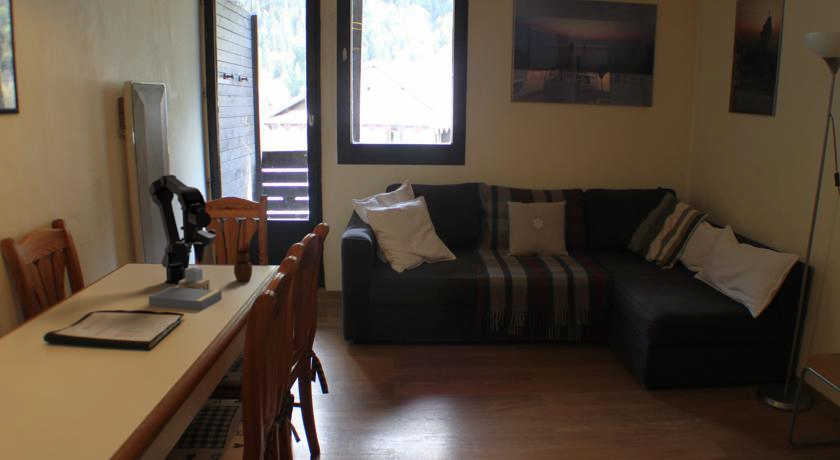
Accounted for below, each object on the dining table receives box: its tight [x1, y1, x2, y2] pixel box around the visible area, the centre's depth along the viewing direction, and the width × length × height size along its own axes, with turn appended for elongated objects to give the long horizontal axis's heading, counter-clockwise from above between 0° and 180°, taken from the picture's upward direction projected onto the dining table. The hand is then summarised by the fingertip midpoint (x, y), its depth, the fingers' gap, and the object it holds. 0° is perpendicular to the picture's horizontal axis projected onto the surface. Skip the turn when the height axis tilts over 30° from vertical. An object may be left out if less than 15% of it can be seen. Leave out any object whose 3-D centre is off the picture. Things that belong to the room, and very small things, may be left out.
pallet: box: [178, 278, 211, 290], centre depth 251 cm, size 9×6×4 cm, turn 77°
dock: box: [148, 286, 222, 311], centre depth 237 cm, size 20×13×3 cm, turn 77°
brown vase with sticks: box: [233, 242, 253, 282], centre depth 264 cm, size 7×6×15 cm
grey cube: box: [185, 267, 204, 282], centre depth 250 cm, size 4×4×4 cm
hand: (193, 265), depth 250 cm, fingers open, 9 cm apart
